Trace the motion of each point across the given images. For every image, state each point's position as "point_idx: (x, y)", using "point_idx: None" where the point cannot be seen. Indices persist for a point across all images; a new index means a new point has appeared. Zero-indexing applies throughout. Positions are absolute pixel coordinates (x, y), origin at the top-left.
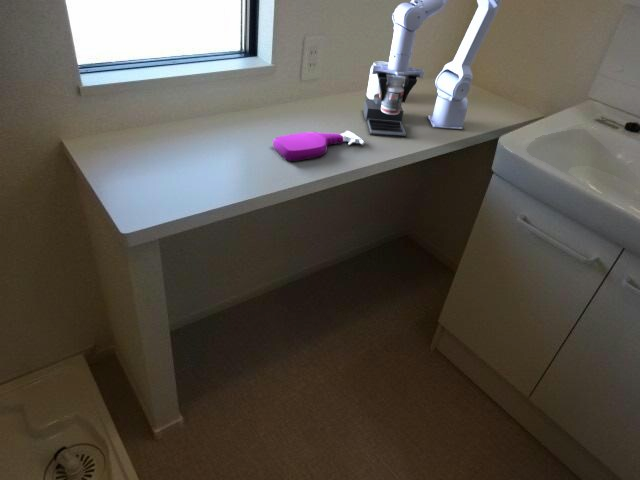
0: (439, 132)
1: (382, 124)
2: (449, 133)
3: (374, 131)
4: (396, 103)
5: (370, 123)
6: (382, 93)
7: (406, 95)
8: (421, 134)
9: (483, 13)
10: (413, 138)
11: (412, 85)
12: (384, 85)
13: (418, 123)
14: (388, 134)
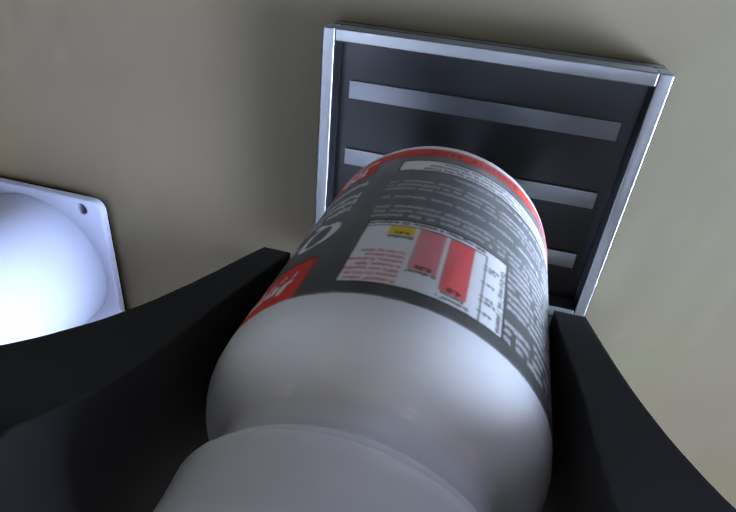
0: (68, 127)
1: None
2: (5, 111)
3: (634, 68)
4: (386, 201)
5: (574, 265)
6: (611, 380)
7: (206, 285)
8: (193, 91)
9: None
10: (266, 9)
11: (3, 357)
12: (647, 496)
13: (194, 265)
14: (487, 44)
